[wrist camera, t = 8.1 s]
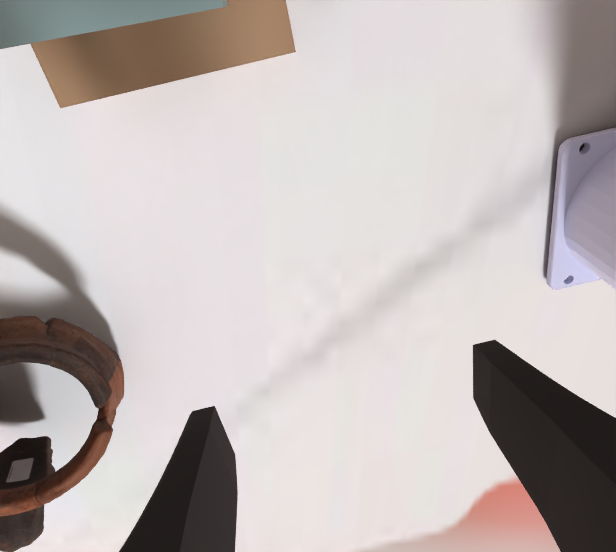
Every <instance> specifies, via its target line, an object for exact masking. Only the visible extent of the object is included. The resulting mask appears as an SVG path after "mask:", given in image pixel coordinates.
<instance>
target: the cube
mask: <svg viewBox="0 0 616 552" xmlns="http://www.w3.org/2000/svg"><path fill="white" fill-rule="evenodd" d="M227 6H228V2H227V0H0V49H3V48H9V47H14V46H19V45H25V44H30V43H36V42H41V41H46V40H52V39H57V38H63V37H68V36H73V35H79V34H84V33H89V32H94V31H100V30H105V29H110V28H116V27H121V26H126V25H132V24H137V23H142V22H147V21H153V20H158V19H163V18H169V17H174V16H179V15H185V14H190V13H195V12H201V11H206V10H211V9H216V8H222V7H227Z"/></svg>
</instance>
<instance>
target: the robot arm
mask: <svg viewBox="0 0 616 552" xmlns="http://www.w3.org/2000/svg"><path fill="white" fill-rule="evenodd" d="M584 143H585V146H584V148H583V149H582V151H579V148H580V146H581V145H582V144H584ZM567 276H568V278H567V279H566V280H564V279H565V278H566V277H567ZM601 279H602V280H603V281H605V282H606V283H607V284H609V285H610V286H611V287H613V288H614V289H615V290H616V127H615V128H611V129H607V130H602V131H598V132H594V133H589V134H585V135H581V136H576V137H572V138H569V139H567V140H565V141H564V142H563V143H562V144H561V146H560V147H559V151H558V161H557V172H556V183H555V193H554V204H553V215H552V226H551V237H550V247H549V258H548V269H547V280H546V281H547V284H548V286H549V287H550V288H552V289H554V290H558V289H562V288H567V287H571V286H575V285H579V284H584V283H588V282H592V281H596V280H601ZM473 398H474V400H475V403H476V405H477V407H478V409H479V411H480V413H481V416H482V418H483V420H484V422H485V424H486V426H487V428H488V430H489V432H490V433H491V435H492V437H493V438H494V440H495V442H496V443H497V445H498V446H499V448H500V450H501V451H502V453H503V454H504V456H505V458H506V459H507V461H508V462H509V464H510V465H511V467H512V469H513V470H514V472H515V473H516V475H517V476H518V478H519V480H520V481H521V483H522V484H523V486H524V488H525V489H526V490H527V492H528V494H529V495H530V497H531V499H532V500H533V502H534V503H535V505H536V506H537V508H538V510H539V512H540V513H541V515H542V517H543V518H544V520H545V522H546V523H547V525H548V528H549V529H550V531H551V533H552V535H553V537H554V539H555V541H556V543H557V545H558V547H559V549H560V551H561V552H616V418H615V417H613V416H611V415H609V414H607V413H606V412H604V411H602V410H601V409H599V408H597V407H595V406H594V405H592V404H590V403H589V402H587V401H585V400H584V399H582V398H580V397H579V396H577V395H575V394H574V393H572V392H571V391H569V390H568V389H566V388H565V387H563V386H561V385H560V384H558V383H557V382H555V381H554V380H552V379H551V378H549V377H548V376H546V375H545V374H543V373H542V372H540V371H539V370H537V369H536V368H534V367H533V366H532V365H530V364H529V363H527V362H526V361H524V360H523V359H522V358H520V357H519V356H517V355H516V354H515V353H513V352H512V351H510V350H509V349H507V348H506V347H505V346H503V345H502V344H500V343H499V342H497V341H496V340H492V341H488V342H483V343H479V344H475V345H473ZM236 516H237V474H236V461H235V453H234V451H233V449H232V446H231V444H230V441H229V439H228V437H227V434H226V432H225V430H224V427H223V425H222V422H221V420H220V418H219V415H218V413H217V411H216V408H215V406H212V407H208V408H204V409H200V410H195V411H192V413H191V414H190V416H189V418H188V421H187V423H186V425H185V428H184V430H183V432H182V435H181V437H180V439H179V441H178V444H177V446H176V448H175V450H174V452H173V455H172V457H171V459H170V461H169V463H168V465H167V467H166V469H165V471H164V473H163V475H162V477H161V479H160V481H159V483H158V485H157V487H156V489H155V491H154V493H153V495H152V497H151V498H150V500H149V502H148V504H147V506H146V507H145V509H144V511H143V513H142V515H141V516H140V518H139V520H138V522H137V523H136V525H135V527H134V529H133V530H132V532H131V534H130V535H129V537H128V538H127V540H126V542H125V543H124V545H123V546H122V548H121V549H120V551H119V552H235V537H236Z"/></svg>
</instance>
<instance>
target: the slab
mask: <svg viewBox="0 0 616 552" xmlns="http://www.w3.org/2000/svg"><path fill="white" fill-rule="evenodd" d="M227 2H228V6H227V7H222V8H216V9H211V10H206V11H201V12H195V13H190V14H185V15H179V16H174V17H169V18H163V19H158V20H153V21H147V22H142V23H137V24H132V25H126V26H121V27H116V28H110V29H105V30H100V31H94V32H89V33H84V34H79V35H73V36H68V37H63V38H57V39H52V40H46V41H41V42H36V43H30V44H31V46H32V48H33V50H34V52H35V55H36V57H37V59H38V61H39V63H40V65H41V68H42V70H43V72H44V74H45V76H46V78H47V80H48V83H49V85H50V87H51V89H52V91H53V93H54V96H55V98H56V100H57V102H58V104H59V106H60V108H63V107H68V106H72V105H76V104H80V103H84V102H88V101H93V100H97V99H101V98H105V97H109V96H114V95H118V94H122V93H126V92H130V91H134V90H139V89H143V88H147V87H151V86H155V85H159V84H164V83H168V82H172V81H176V80H180V79H185V78H189V77H193V76H197V75H201V74H205V73H210V72H214V71H218V70H222V69H226V68H230V67H235V66H239V65H243V64H247V63H251V62H256V61H260V60H264V59H268V58H272V57H276V56H281V55H285V54H289V53H293V52H296V51H295V46H294V41H293V35H292V30H291V25H290V20H289V15H288V10H287V5H286V0H227Z"/></svg>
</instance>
